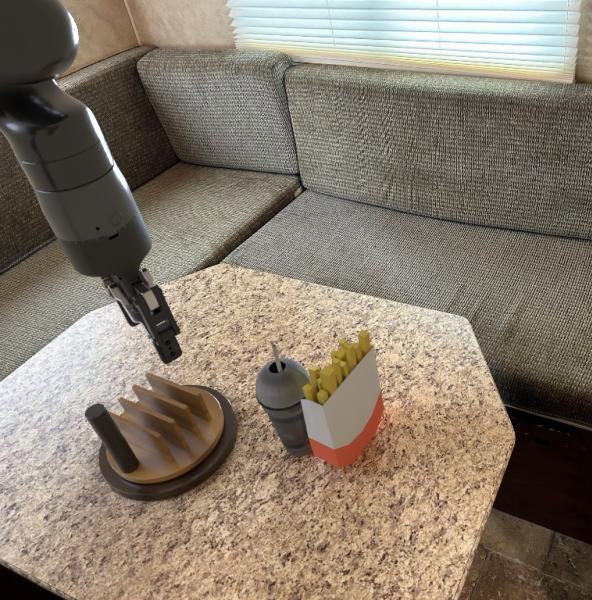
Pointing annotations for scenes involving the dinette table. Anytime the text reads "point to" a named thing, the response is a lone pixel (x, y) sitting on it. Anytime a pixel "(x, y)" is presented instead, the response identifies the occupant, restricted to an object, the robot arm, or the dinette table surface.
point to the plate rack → (159, 430)
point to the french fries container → (343, 403)
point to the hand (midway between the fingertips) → (155, 339)
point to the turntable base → (187, 479)
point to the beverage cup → (285, 401)
